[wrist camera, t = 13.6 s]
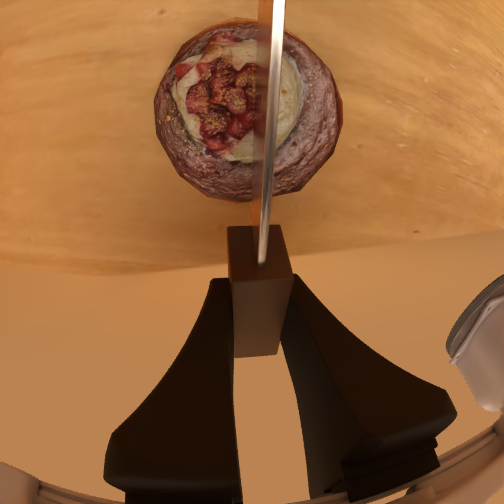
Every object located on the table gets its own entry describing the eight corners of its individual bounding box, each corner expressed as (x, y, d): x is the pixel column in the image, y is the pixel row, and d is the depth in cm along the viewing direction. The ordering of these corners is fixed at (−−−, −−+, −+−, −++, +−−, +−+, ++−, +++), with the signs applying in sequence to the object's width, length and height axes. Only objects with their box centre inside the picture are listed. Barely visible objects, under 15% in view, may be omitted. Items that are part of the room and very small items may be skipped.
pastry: (191, 5, 9) (175, -36, 4) (353, 63, 11) (419, 64, 6) (139, 170, 12) (102, 220, 8) (290, 211, 14) (319, 273, 10)
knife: (269, 308, 13) (277, 355, 12) (230, 311, 13) (233, 358, 12) (301, 2, 5) (337, -4, 3) (224, -2, 5) (227, -14, 3)
